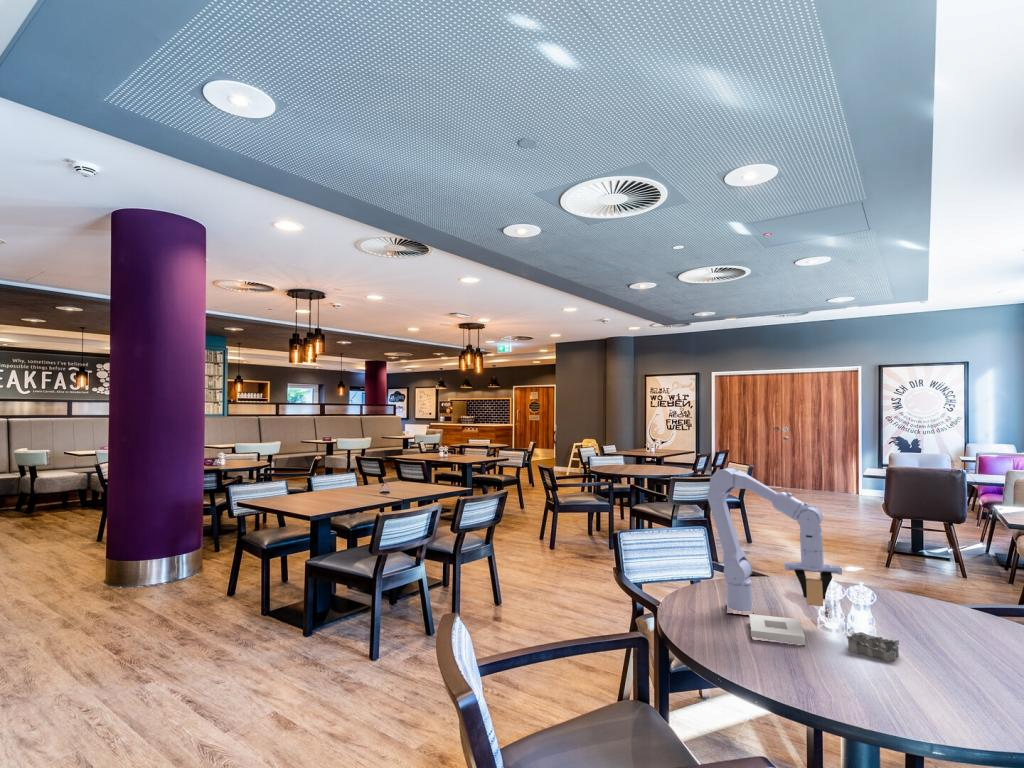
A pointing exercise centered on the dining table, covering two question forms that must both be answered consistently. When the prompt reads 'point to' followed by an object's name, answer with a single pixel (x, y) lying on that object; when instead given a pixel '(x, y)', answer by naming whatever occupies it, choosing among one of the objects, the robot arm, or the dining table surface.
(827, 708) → the dining table surface
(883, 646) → the egg carton
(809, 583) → the peg
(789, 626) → the socket plate
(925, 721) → the dining table surface
